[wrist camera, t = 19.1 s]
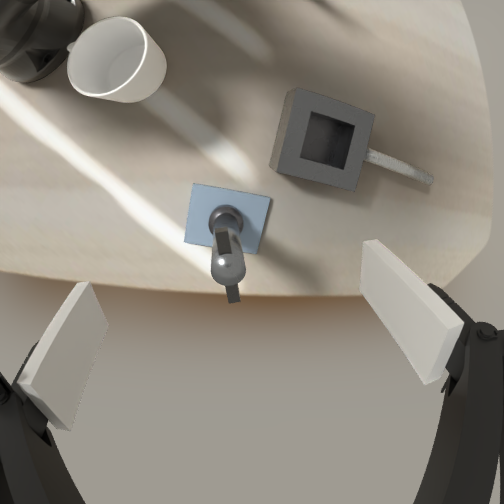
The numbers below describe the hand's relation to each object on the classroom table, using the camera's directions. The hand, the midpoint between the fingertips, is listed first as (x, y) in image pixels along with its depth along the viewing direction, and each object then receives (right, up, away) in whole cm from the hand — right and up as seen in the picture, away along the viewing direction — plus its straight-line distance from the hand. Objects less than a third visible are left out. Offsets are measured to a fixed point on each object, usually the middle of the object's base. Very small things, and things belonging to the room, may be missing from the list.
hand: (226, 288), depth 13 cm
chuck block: (+16, +15, +23) cm, 32 cm away
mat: (-2, +6, +25) cm, 26 cm away
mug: (-15, +25, +16) cm, 33 cm away
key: (-2, +6, +25) cm, 26 cm away
